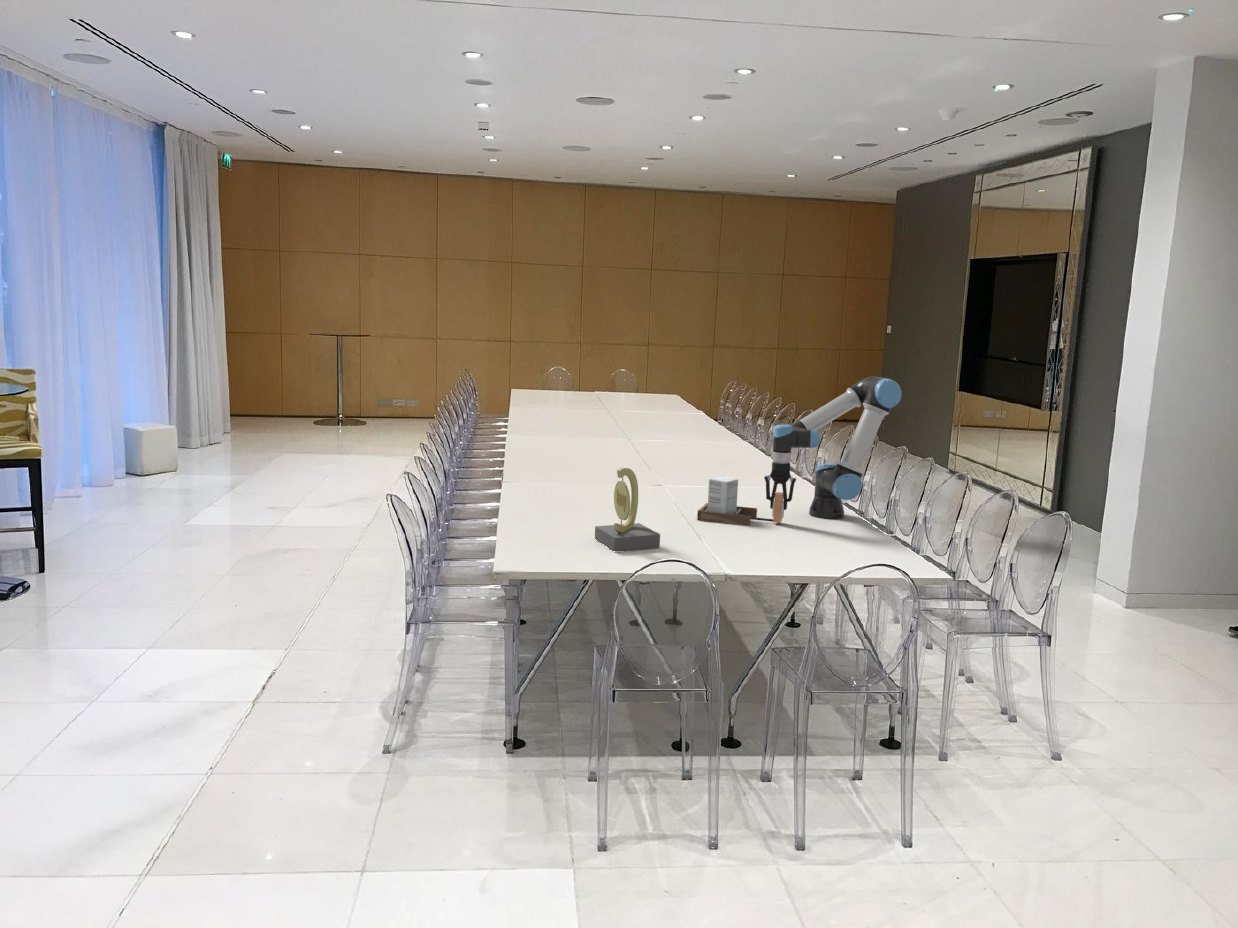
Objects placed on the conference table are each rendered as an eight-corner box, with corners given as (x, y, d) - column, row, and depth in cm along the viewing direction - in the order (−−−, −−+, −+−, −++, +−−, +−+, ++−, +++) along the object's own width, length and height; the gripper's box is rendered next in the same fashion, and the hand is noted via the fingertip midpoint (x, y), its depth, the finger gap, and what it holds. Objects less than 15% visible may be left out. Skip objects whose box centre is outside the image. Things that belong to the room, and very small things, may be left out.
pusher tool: (709, 512, 436) (711, 484, 434) (783, 519, 426) (785, 490, 424) (702, 518, 423) (704, 489, 421) (778, 526, 414) (780, 496, 412)
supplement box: (718, 514, 434) (720, 476, 431) (736, 517, 428) (739, 479, 426) (706, 517, 427) (708, 478, 424) (724, 520, 421) (726, 481, 418)
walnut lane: (705, 512, 438) (706, 503, 437) (756, 517, 432) (757, 508, 431) (697, 520, 422) (697, 510, 422) (749, 525, 416) (750, 516, 415)
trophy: (594, 540, 384) (596, 463, 379) (638, 536, 392) (641, 461, 386) (614, 552, 367) (616, 472, 362) (659, 548, 375) (662, 470, 370)
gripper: (760, 461, 415) (757, 516, 419) (799, 464, 410) (795, 520, 414) (763, 458, 422) (760, 513, 426) (801, 462, 417) (798, 516, 421)
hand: (777, 516), depth 420 cm, fingers closed on pusher tool, 3 cm apart
